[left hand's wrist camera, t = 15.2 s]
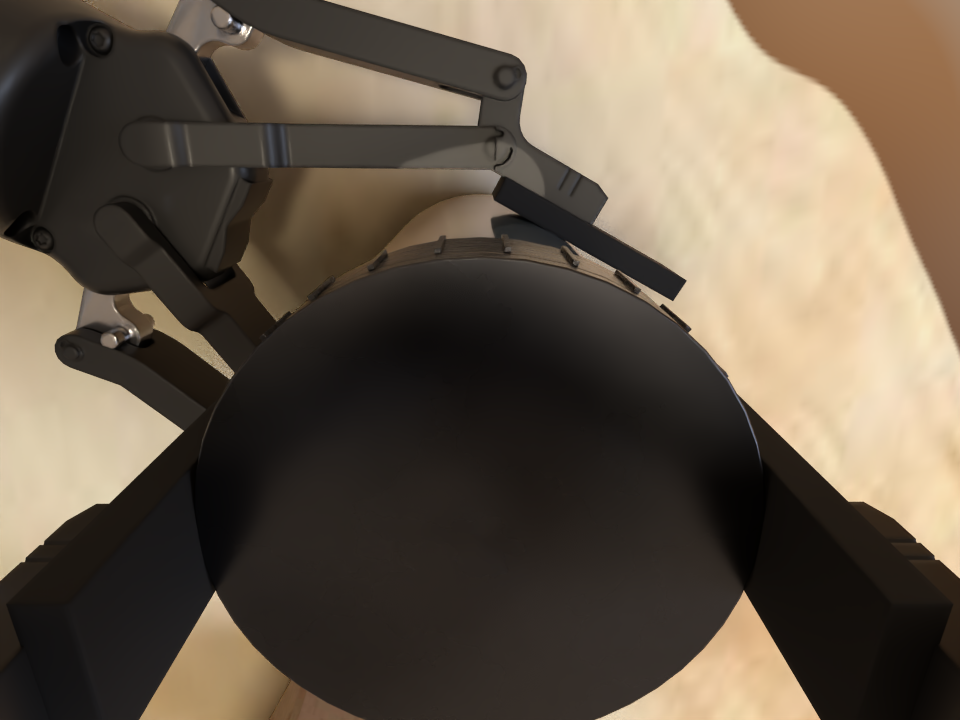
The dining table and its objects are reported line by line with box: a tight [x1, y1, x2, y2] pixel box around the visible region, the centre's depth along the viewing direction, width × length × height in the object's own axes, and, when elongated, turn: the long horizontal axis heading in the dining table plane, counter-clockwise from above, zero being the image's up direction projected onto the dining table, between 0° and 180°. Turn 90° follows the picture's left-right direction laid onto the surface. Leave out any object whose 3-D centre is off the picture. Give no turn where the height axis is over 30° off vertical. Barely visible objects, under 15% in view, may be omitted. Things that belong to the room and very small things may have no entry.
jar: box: [383, 194, 584, 258], centre depth 19 cm, size 9×9×17 cm
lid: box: [194, 234, 765, 720], centre depth 11 cm, size 10×10×2 cm
